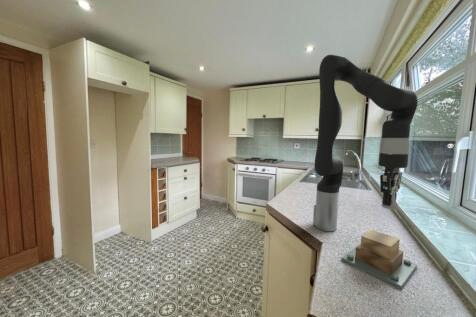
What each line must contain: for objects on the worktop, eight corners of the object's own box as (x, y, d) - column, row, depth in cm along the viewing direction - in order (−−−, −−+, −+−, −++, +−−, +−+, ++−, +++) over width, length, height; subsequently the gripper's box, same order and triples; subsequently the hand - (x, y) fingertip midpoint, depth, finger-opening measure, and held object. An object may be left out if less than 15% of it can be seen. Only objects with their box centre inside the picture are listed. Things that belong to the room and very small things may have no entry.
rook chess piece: (381, 204, 69) (383, 181, 69) (397, 207, 67) (399, 183, 66) (380, 207, 66) (382, 184, 65) (397, 210, 63) (400, 186, 62)
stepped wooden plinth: (355, 258, 66) (356, 235, 65) (367, 249, 72) (369, 227, 71) (391, 275, 58) (394, 249, 57) (402, 263, 64) (404, 239, 63)
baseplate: (341, 260, 67) (341, 255, 67) (361, 245, 76) (362, 241, 76) (400, 289, 54) (401, 283, 54) (416, 267, 64) (417, 262, 63)
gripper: (386, 151, 72) (383, 197, 74) (372, 152, 63) (368, 204, 65) (414, 152, 66) (409, 202, 68) (401, 153, 57) (396, 211, 59)
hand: (389, 203), depth 66 cm, fingers closed on rook chess piece, 4 cm apart
